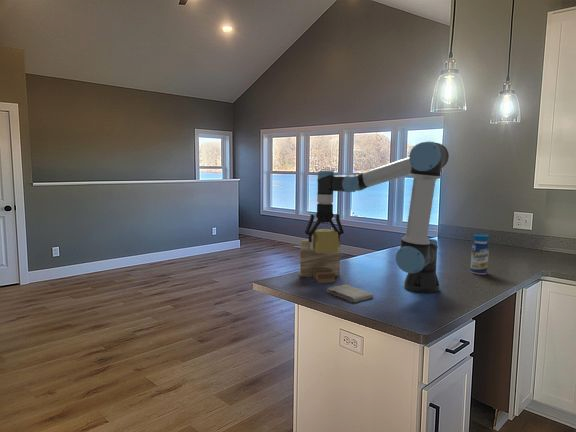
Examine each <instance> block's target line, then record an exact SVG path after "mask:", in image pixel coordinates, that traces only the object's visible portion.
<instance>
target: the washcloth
mask: <svg viewBox="0 0 576 432" xmlns="http://www.w3.org/2000/svg"><path fill="white" fill-rule="evenodd" d="M326 289H327V290H326V292H327V293H328V294H329V293H331V294H330V295H332V294H333V295H332V296H334V297H336V296H338V297H337V298H339V297H341V298H340V299H342V298H344V299H346V300H345V301H347V300H349V301H350V303H352V302H354V303H358V302H361V301H367V300H371V299H373V298H374V295H373V294H372V293H371V292H369V291H365V290H364V289H360V288H358V287H354V286H352V285H350V284H342V285H339V286H337V285H336V286H335V285H334V286H330V287H328V288H326ZM344 299H343V300H344ZM349 301H348V302H349ZM354 303H353V304H354Z"/></svg>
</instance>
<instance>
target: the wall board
mask: <svg viewBox="0 0 576 432" xmlns="http://www.w3.org/2000/svg"><path fill="white" fill-rule="evenodd" d="M299 247H300V249H299V250H300V253H299V255H300V256H299V257H300V260H299V261H300V262H299V271H298V275H299V276H300V278H302V277H303V278H304V277H306V278H307V277H312V278H313V279H314V280H315V281H316V282H317V283H319V284H324V283H325V284H326V283H336V276H341V275H340V273H341V272H340V271H341V270H340V268H341V266H340V265H341V240H340V241H339V242H338V250H337V252H330V253H317V252H315V251H313V250H310V242H309V239H306V240H305V239H303V240H300V246H299Z"/></svg>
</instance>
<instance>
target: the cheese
mask: <svg viewBox="0 0 576 432" xmlns="http://www.w3.org/2000/svg"><path fill="white" fill-rule="evenodd" d="M312 235H313V236H314V237H313V249H311V248H310V250H313V251H315V252H317V253H330V252H337V250H338V241H339V238H338V232H336V231H334V230H332V229H329V228H320V229H316V230H315V231H314V233H313V234H312Z"/></svg>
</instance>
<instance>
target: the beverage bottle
mask: <svg viewBox="0 0 576 432" xmlns="http://www.w3.org/2000/svg"><path fill="white" fill-rule="evenodd" d="M488 241H489V235H488V234H483V233H475V234H474V235H473V242H474V243H472V245H471V251H470V254H471V255H470V256H471V257H470V269H469V270H470V273H471V274H475V275H487V274H488V266H489V255H490V252H489V250H490V247H489V245H488Z"/></svg>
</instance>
